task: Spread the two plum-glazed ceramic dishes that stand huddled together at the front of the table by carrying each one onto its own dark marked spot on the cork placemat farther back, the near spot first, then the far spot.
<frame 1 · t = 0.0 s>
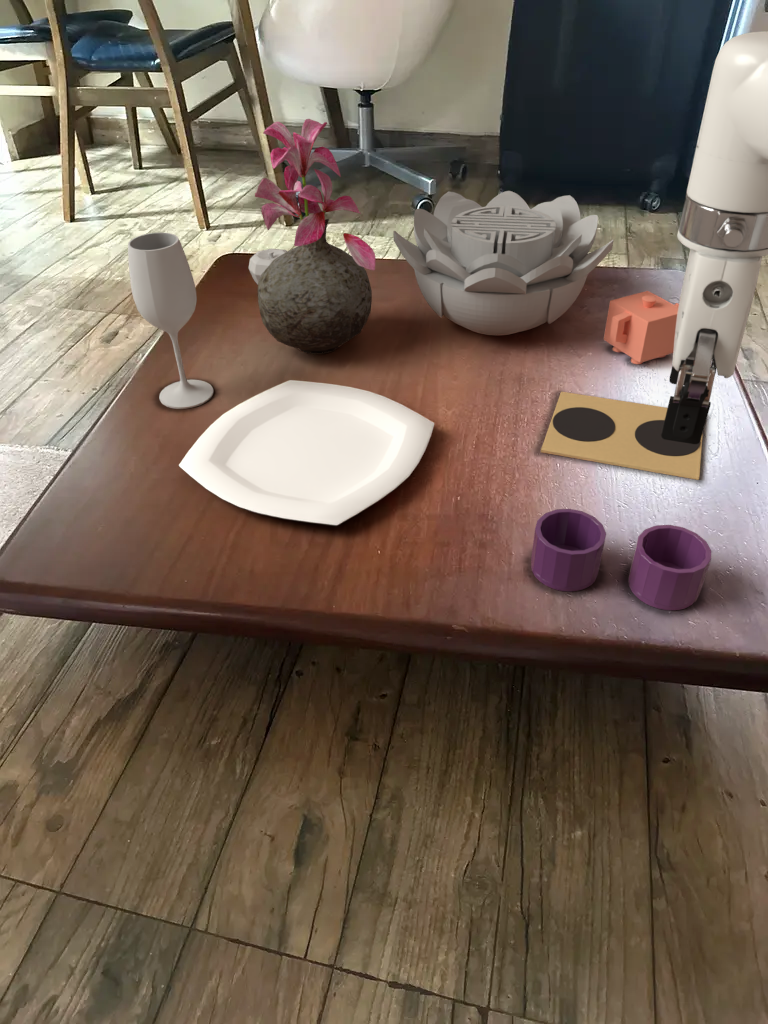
hand: (683, 410, 71), 16 cm above the table, tool pointing down, fingers open, 9 cm apart
decorative bowl: (495, 323, 120), on the table
pink cube teapot: (641, 352, 112), on the table
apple: (275, 291, 131), on the table
vase: (322, 344, 116), on the table
wineglass: (186, 395, 106), on the table
plum dish a: (663, 585, 76), on the table
plum dish b: (564, 568, 78), on the table
plate: (311, 457, 94), on the table
placemat: (624, 433, 96), on the table
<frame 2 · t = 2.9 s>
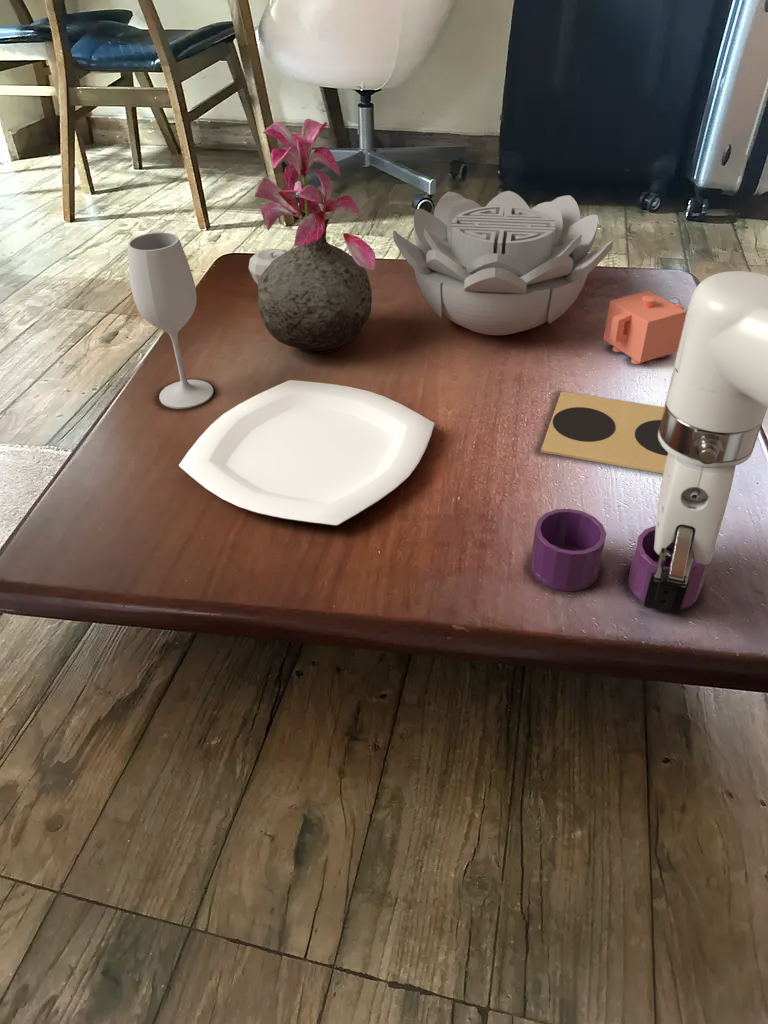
hand: (664, 580, 75), 1 cm above the table, tool pointing down, fingers closed on plum dish a, 6 cm apart
plum dish a: (663, 585, 76), on the table, touching gripper
everything else where it was.
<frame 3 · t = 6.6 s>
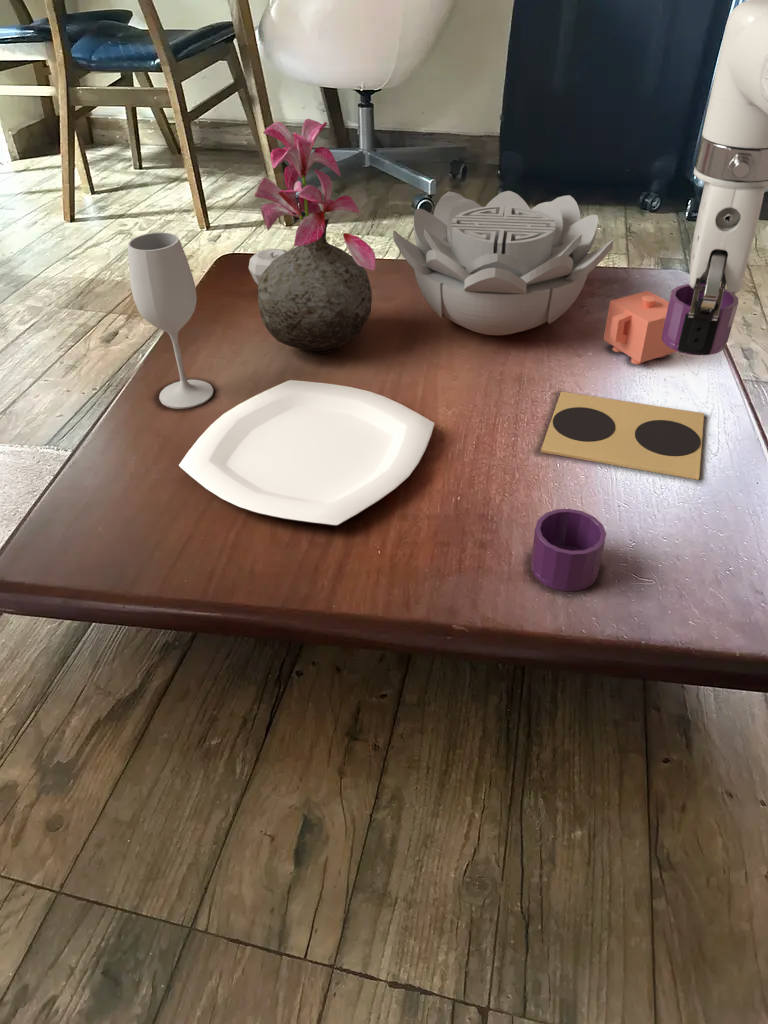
hand: (695, 334, 83), 15 cm above the table, tool pointing down, fingers closed on plum dish a, 6 cm apart
plum dish a: (693, 340, 84), point 15 cm above the table, touching gripper
everything else where it was.
when the fingers open (1 cm above the table, at t = 10.4 s): plum dish a stays where it is, resting on placemat.
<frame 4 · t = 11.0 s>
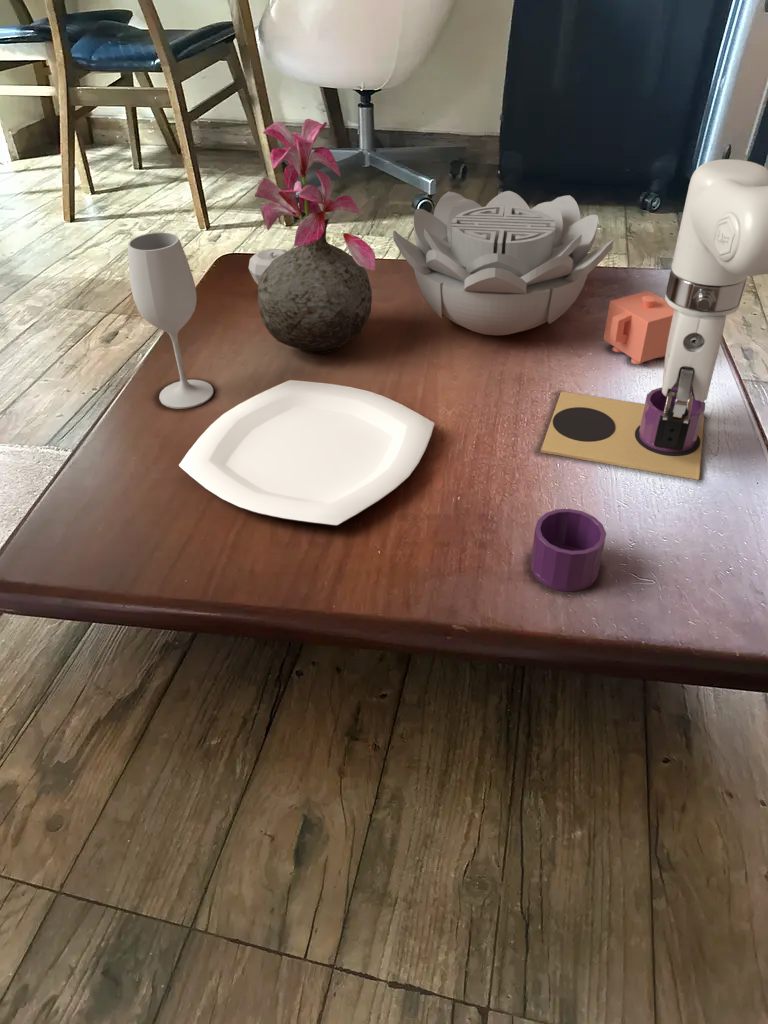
hand: (670, 425, 93), 2 cm above the table, tool pointing down, fingers open, 9 cm apart
plum dish a: (666, 436, 94), resting on placemat
everything else where it was.
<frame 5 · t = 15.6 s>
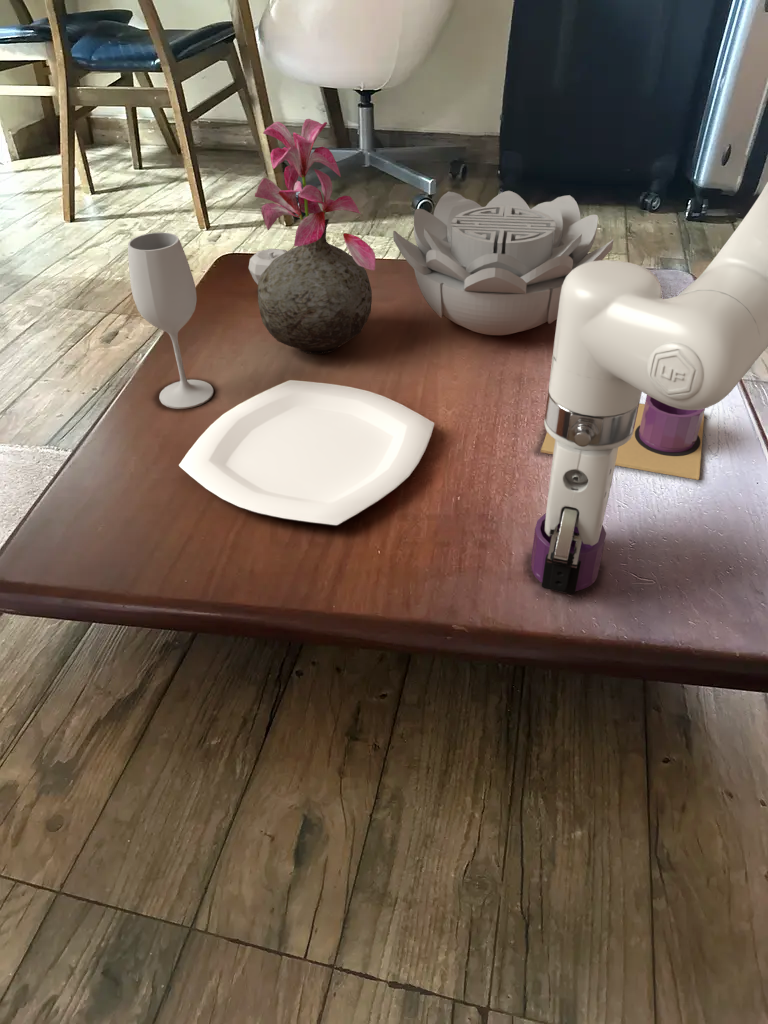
hand: (565, 562, 78), 1 cm above the table, tool pointing down, fingers closed on plum dish b, 6 cm apart
plum dish b: (564, 568, 78), on the table, touching gripper
everything else where it was.
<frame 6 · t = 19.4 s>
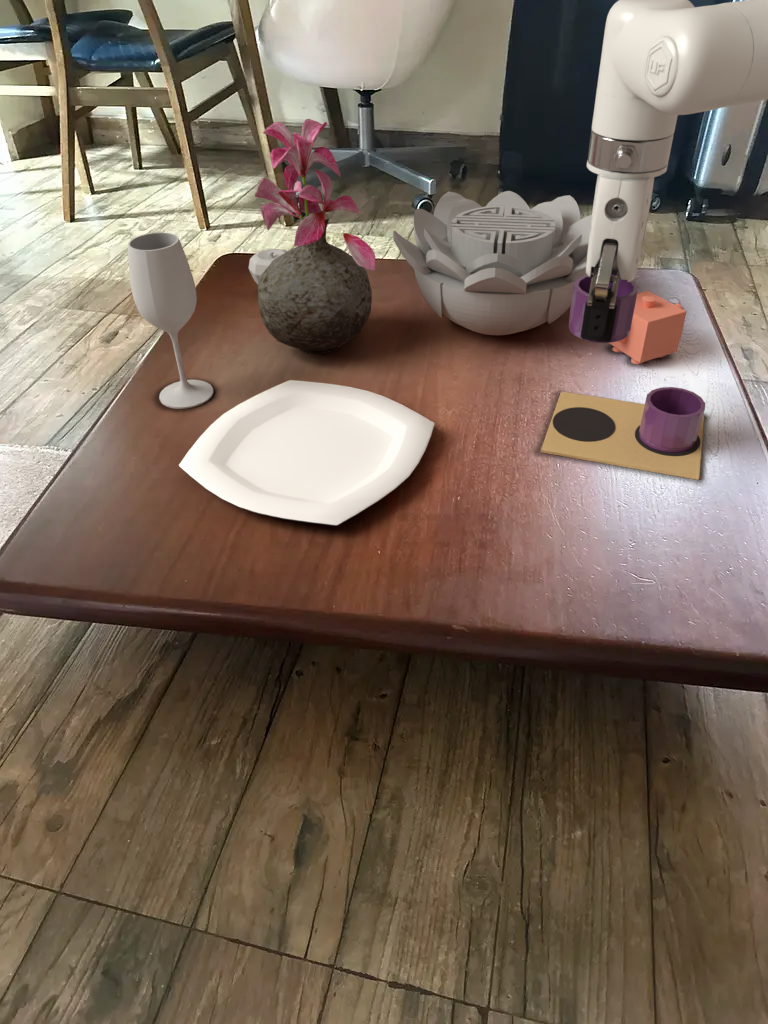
hand: (600, 323, 86), 15 cm above the table, tool pointing down, fingers closed on plum dish b, 6 cm apart
plum dish b: (599, 328, 86), point 15 cm above the table, touching gripper
everything else where it was.
when the fingers open (1 cm above the table, at t = 23.2 s): plum dish b stays where it is, resting on placemat.
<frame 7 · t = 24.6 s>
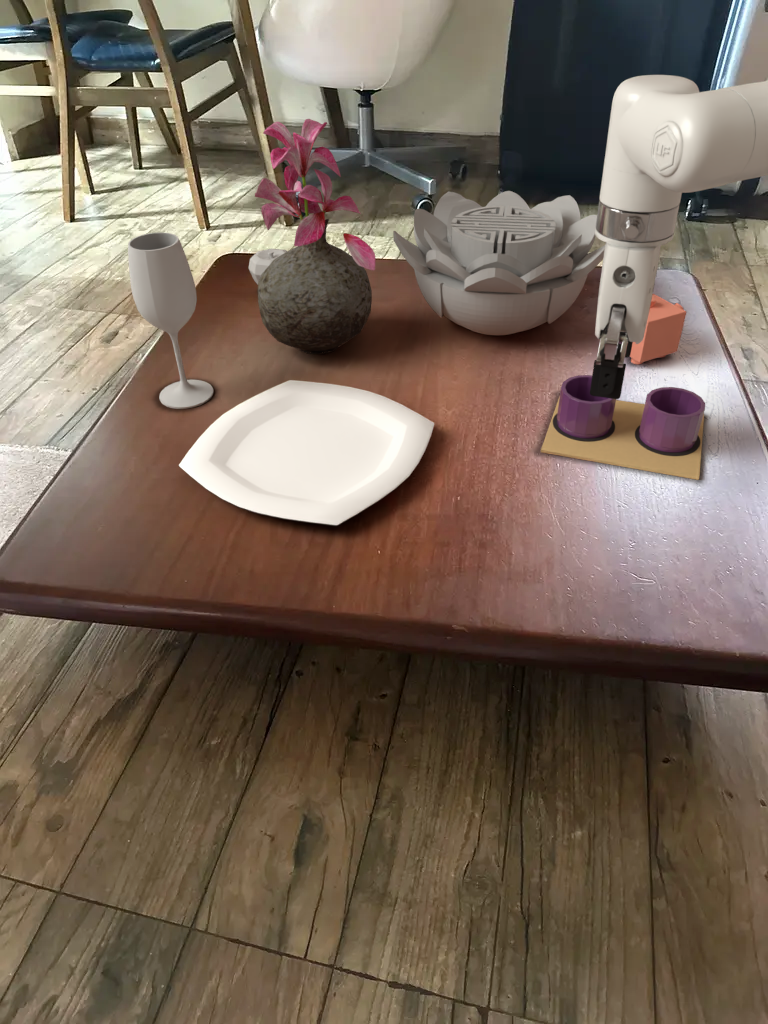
hand: (610, 374, 87), 10 cm above the table, tool pointing down, fingers open, 9 cm apart
plum dish b: (583, 423, 97), point 1 cm above the table, touching placemat
everything else where it was.
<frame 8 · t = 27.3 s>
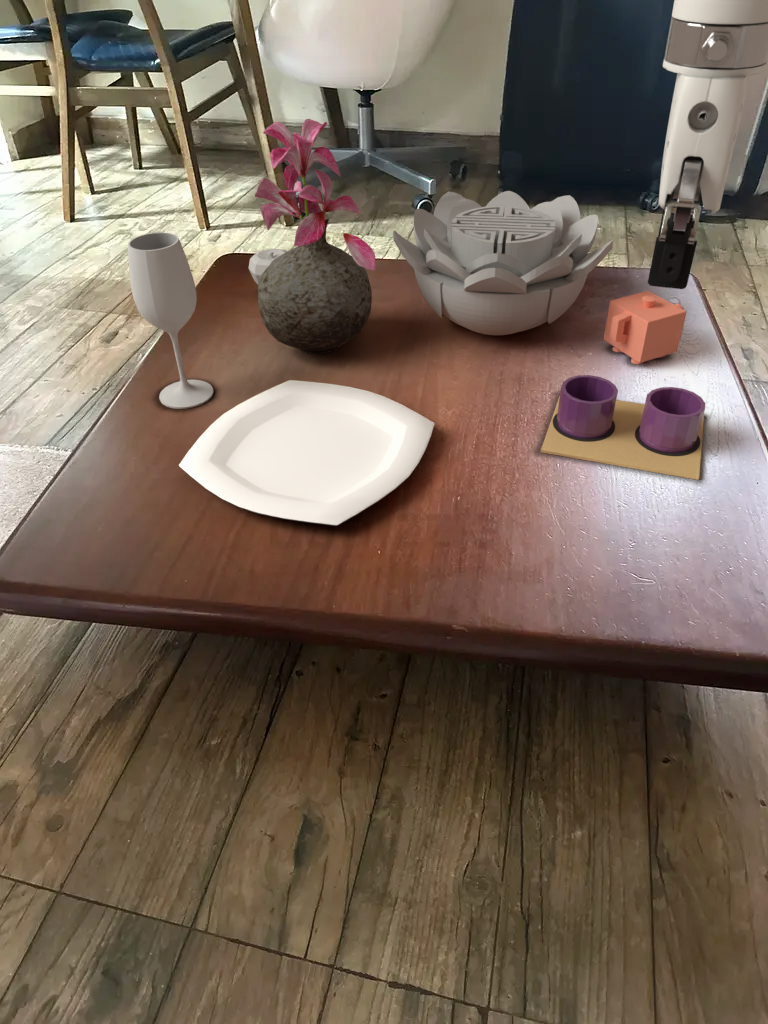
hand: (670, 264, 70), 26 cm above the table, tool pointing down, fingers open, 9 cm apart
nothing on the table moved.
at the end: plum dish a 0.1 cm from the target spot on the placemat, point 0.5 cm above the placemat's base; plum dish b 0.0 cm from the target spot on the placemat, point 0.5 cm above the placemat's base; plum dish b tilted 0° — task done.
